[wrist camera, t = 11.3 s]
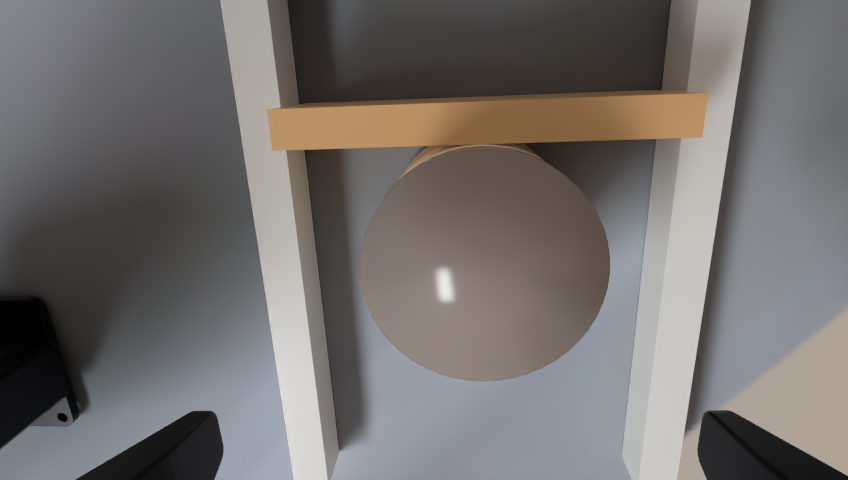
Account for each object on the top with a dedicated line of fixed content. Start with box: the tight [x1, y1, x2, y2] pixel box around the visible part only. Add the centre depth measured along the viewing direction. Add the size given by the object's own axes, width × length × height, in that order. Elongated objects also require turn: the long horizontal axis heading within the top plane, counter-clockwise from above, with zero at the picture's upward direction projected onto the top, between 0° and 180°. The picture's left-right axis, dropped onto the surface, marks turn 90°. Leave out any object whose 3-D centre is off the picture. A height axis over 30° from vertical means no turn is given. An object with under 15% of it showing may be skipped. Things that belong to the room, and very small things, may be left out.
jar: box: [360, 143, 610, 381], centre depth 16 cm, size 7×7×6 cm
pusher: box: [267, 90, 708, 151], centre depth 16 cm, size 12×1×4 cm, turn 92°
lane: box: [220, 0, 751, 480], centre depth 17 cm, size 16×22×4 cm
